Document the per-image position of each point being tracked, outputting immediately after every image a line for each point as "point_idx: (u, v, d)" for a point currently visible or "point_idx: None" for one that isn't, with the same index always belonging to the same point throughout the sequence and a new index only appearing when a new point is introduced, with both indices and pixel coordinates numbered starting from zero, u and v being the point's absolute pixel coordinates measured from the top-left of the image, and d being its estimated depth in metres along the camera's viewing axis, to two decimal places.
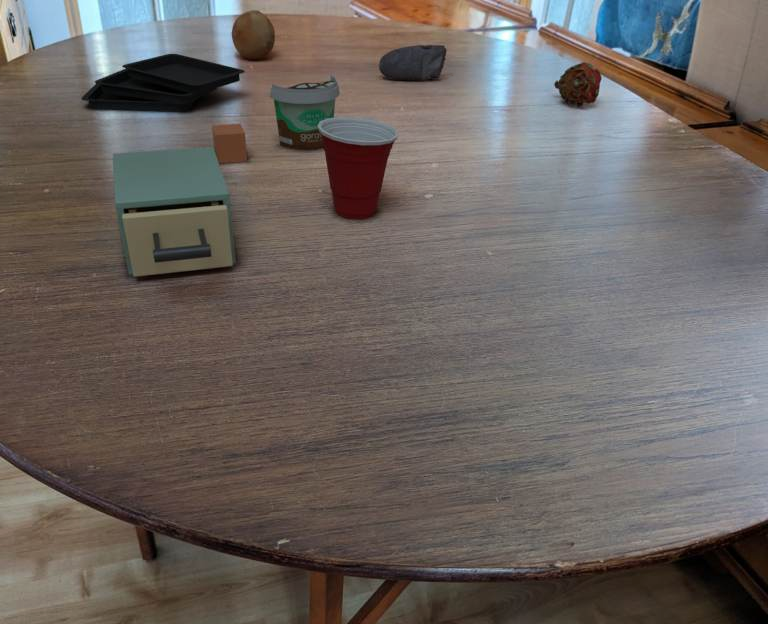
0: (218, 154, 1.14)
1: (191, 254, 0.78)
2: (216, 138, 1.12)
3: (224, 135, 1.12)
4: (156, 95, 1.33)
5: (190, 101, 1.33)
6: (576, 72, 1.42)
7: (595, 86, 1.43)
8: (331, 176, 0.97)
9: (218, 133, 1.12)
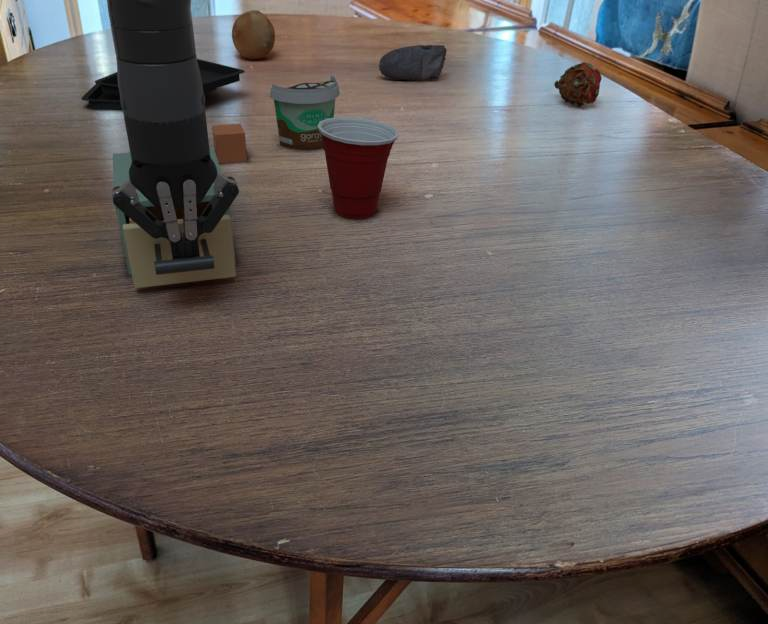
0: (218, 154, 1.14)
1: (193, 266, 0.76)
2: (216, 138, 1.12)
3: (224, 135, 1.12)
4: None
5: None
6: (576, 72, 1.42)
7: (595, 86, 1.43)
8: (331, 176, 0.97)
9: (218, 133, 1.12)
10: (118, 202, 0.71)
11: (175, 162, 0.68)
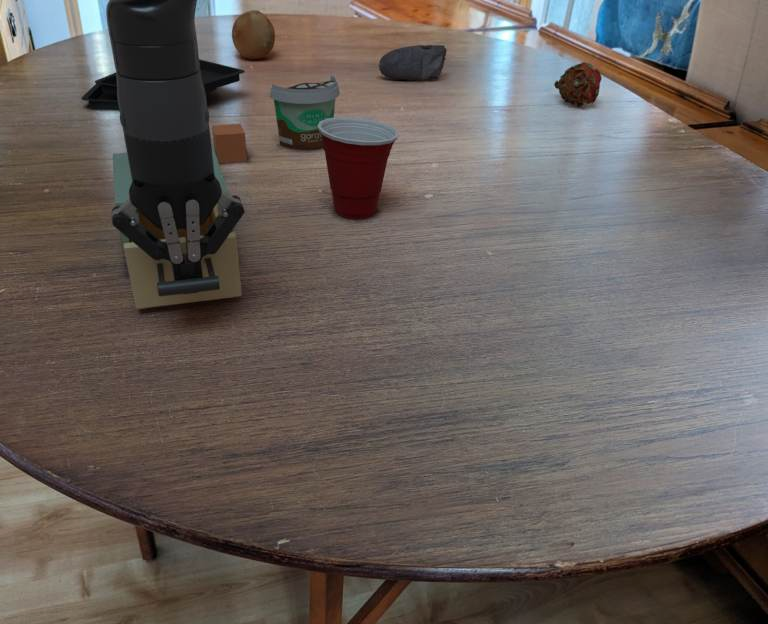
0: (218, 154, 1.14)
1: (198, 287, 0.73)
2: (216, 138, 1.12)
3: (224, 135, 1.12)
4: None
5: None
6: (576, 72, 1.42)
7: (595, 86, 1.43)
8: (331, 176, 0.97)
9: (218, 133, 1.12)
10: (117, 223, 0.68)
11: (177, 182, 0.65)
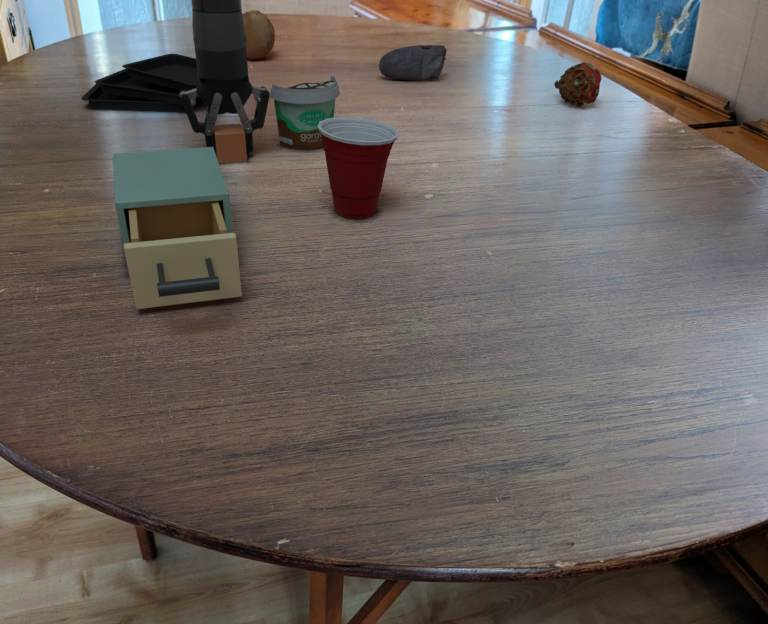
0: (218, 154, 1.14)
1: (198, 287, 0.73)
2: (216, 138, 1.12)
3: (224, 135, 1.12)
4: (156, 95, 1.33)
5: None
6: (576, 72, 1.42)
7: (595, 86, 1.43)
8: (331, 176, 0.97)
9: (218, 133, 1.12)
10: (184, 99, 1.08)
11: (227, 78, 1.06)
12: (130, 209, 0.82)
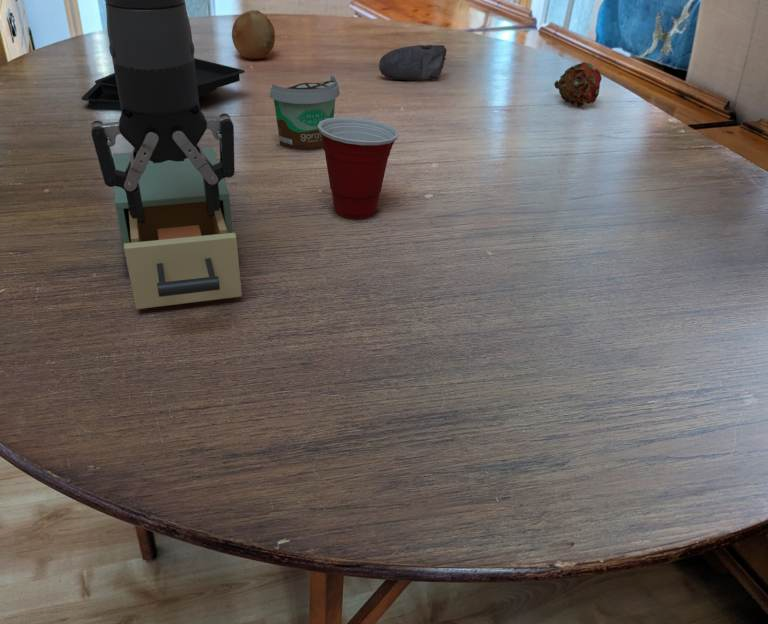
0: None
1: (198, 287, 0.73)
2: None
3: None
4: None
5: None
6: (576, 72, 1.42)
7: (595, 86, 1.43)
8: (331, 176, 0.97)
9: None
10: (97, 134, 0.70)
11: (164, 111, 0.68)
12: None
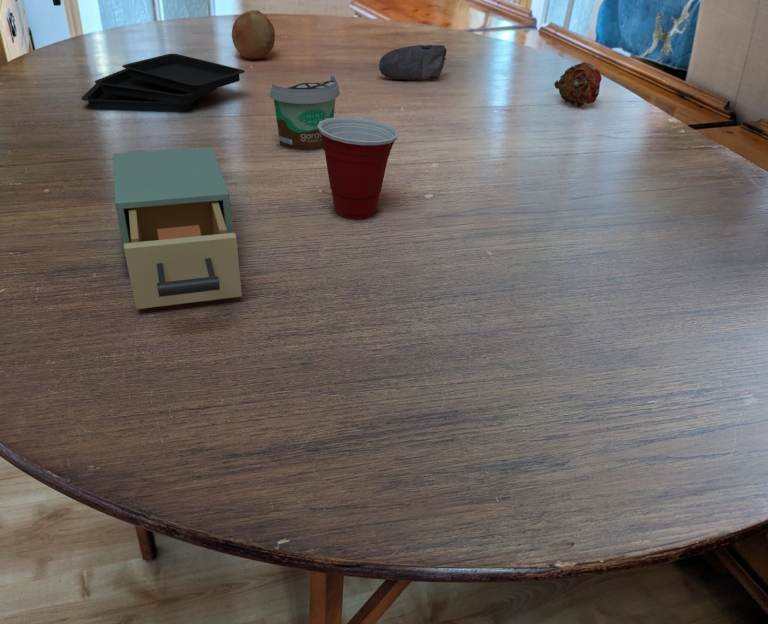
0: None
1: (198, 287, 0.73)
2: None
3: None
4: (156, 95, 1.33)
5: (190, 101, 1.33)
6: (576, 72, 1.42)
7: (595, 86, 1.43)
8: (331, 176, 0.97)
9: None
10: None
11: None
12: (130, 209, 0.82)
